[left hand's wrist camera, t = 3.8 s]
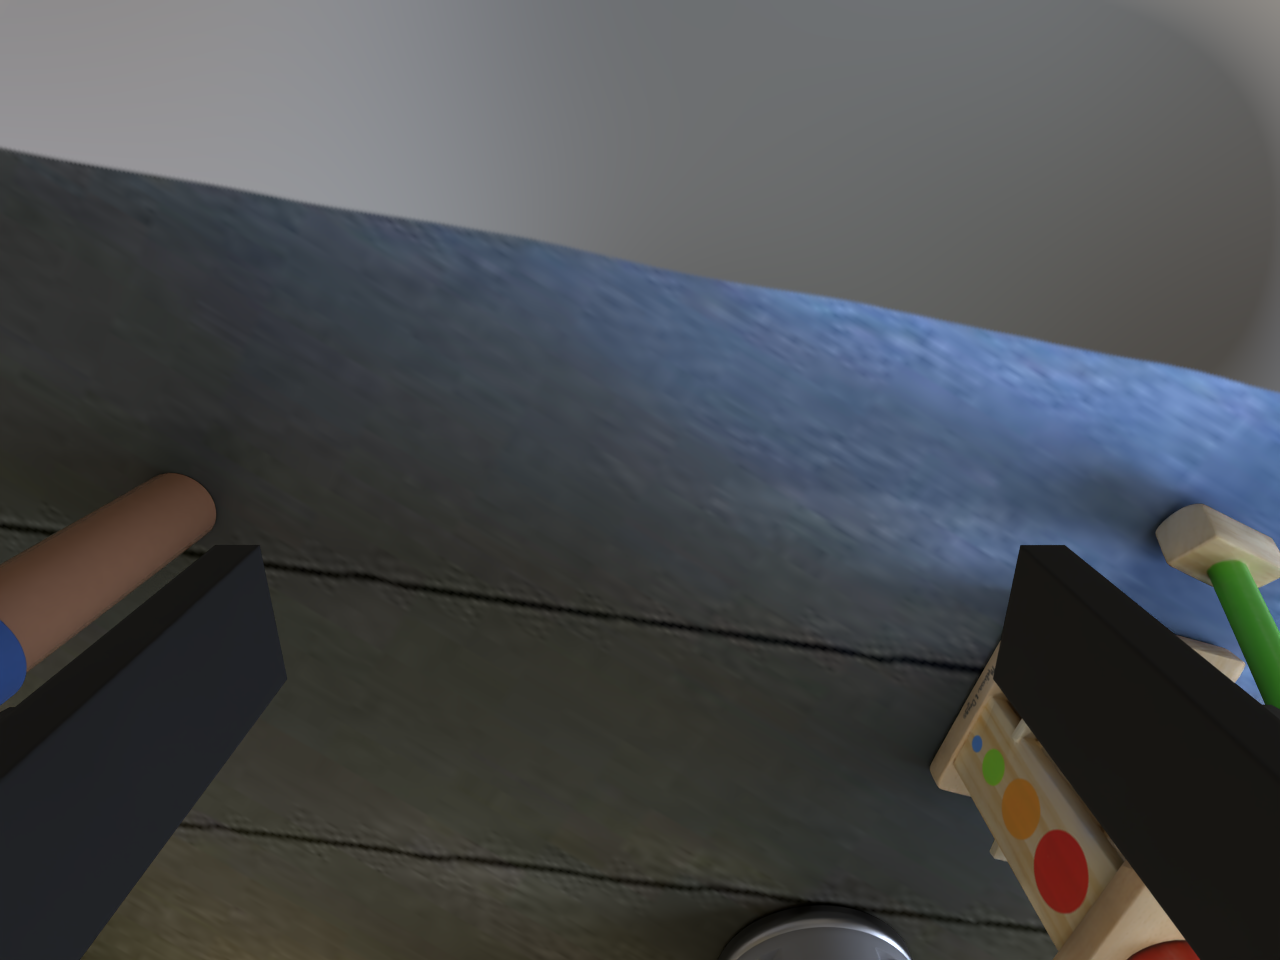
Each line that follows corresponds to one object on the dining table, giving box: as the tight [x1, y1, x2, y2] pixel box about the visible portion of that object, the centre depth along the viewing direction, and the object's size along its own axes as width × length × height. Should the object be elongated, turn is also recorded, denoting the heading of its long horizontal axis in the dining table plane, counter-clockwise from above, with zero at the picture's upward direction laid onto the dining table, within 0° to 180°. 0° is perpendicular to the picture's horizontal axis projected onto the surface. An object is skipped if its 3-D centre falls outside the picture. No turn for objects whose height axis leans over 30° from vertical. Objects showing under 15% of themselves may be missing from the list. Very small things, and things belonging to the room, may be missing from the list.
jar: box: [0, 473, 216, 673], centre depth 35 cm, size 4×4×16 cm
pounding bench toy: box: [930, 504, 1280, 960], centre depth 38 cm, size 23×14×18 cm, turn 163°
